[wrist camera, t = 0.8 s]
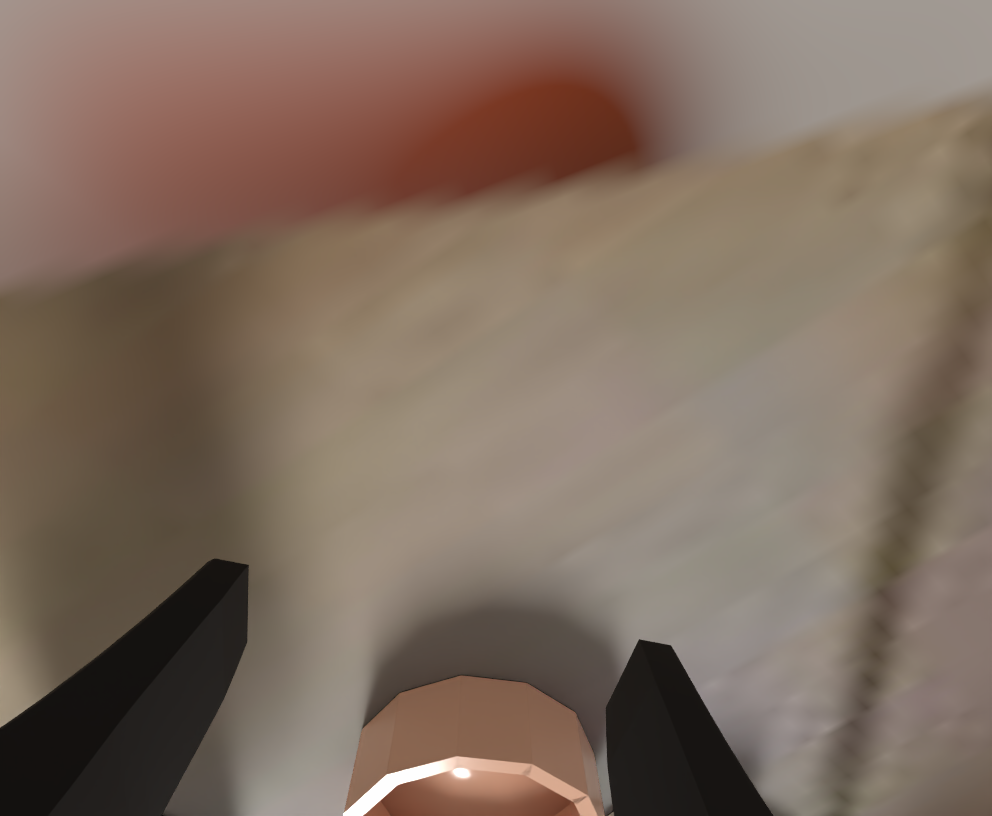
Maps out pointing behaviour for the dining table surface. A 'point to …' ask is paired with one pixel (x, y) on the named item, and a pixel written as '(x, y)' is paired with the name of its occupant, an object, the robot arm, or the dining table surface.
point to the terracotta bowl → (474, 755)
